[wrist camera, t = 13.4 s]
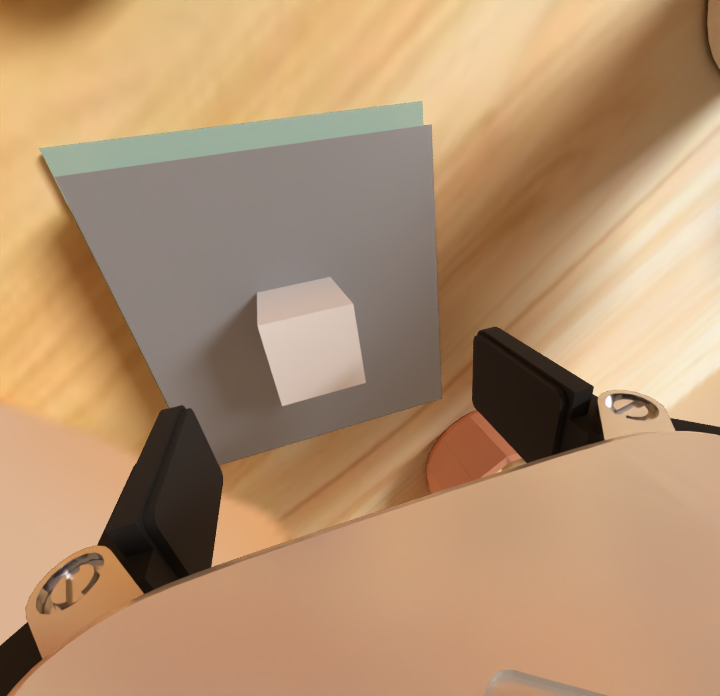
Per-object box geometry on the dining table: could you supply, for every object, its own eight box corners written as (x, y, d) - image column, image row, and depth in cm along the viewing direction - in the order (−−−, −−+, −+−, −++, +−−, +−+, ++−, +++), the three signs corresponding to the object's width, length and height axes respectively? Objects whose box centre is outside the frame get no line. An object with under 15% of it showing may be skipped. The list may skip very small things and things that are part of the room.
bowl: (536, 391, 34) (588, 428, 28) (526, 478, 39) (567, 522, 34) (422, 427, 31) (455, 474, 26) (428, 513, 37) (457, 567, 32)
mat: (417, 103, 20) (422, 101, 20) (432, 380, 29) (435, 384, 29) (46, 149, 17) (39, 148, 16) (193, 449, 26) (192, 454, 25)
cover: (401, 135, 20) (493, 101, 12) (418, 372, 28) (482, 443, 20) (95, 179, 17) (-40, 170, 9) (208, 431, 25) (187, 542, 17)
